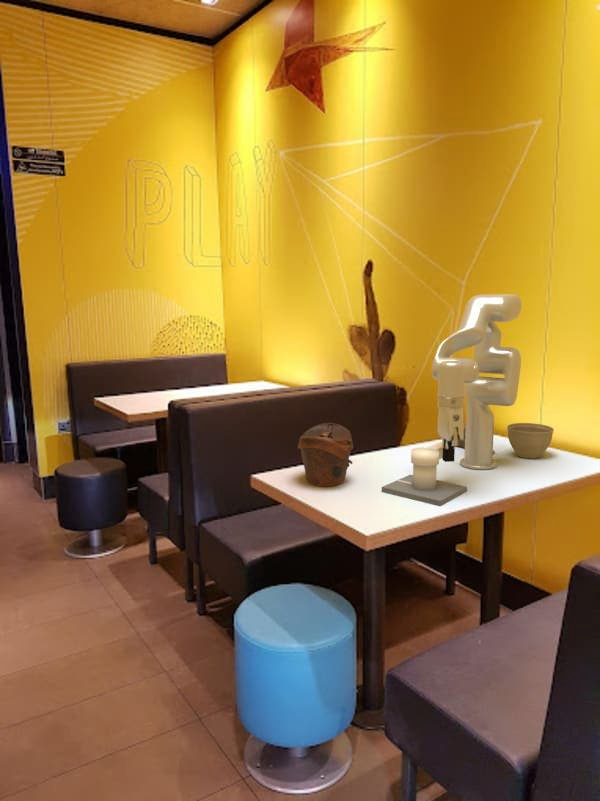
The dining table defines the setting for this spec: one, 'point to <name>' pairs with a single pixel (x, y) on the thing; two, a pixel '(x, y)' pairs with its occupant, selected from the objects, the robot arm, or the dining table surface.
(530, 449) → the planter bowl
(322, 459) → the brown domed pot
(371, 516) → the dining table surface
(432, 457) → the cream piece
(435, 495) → the base
